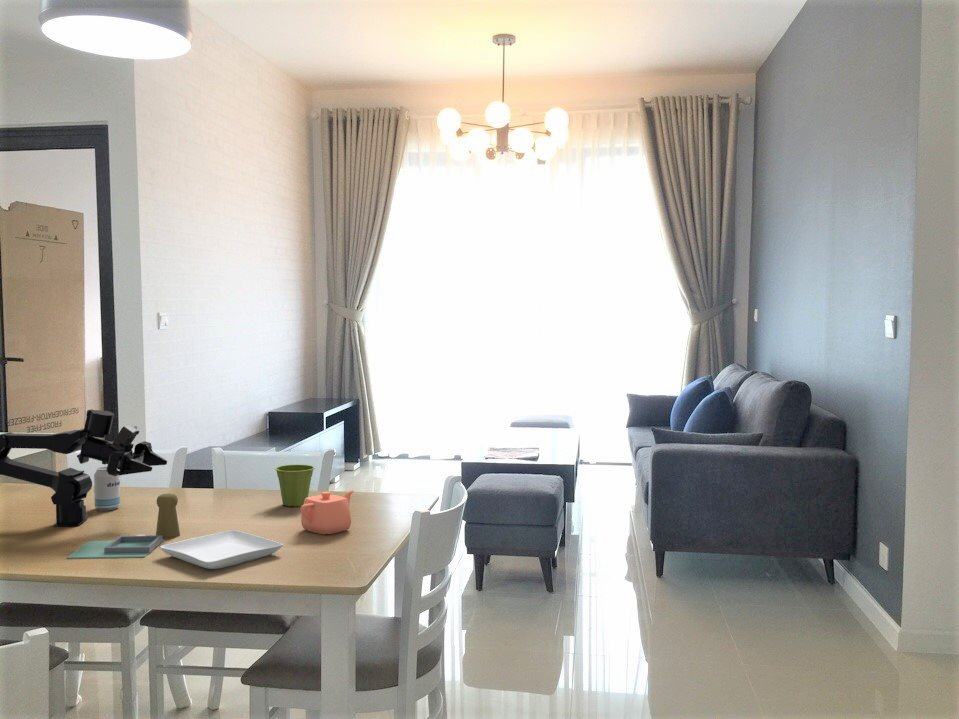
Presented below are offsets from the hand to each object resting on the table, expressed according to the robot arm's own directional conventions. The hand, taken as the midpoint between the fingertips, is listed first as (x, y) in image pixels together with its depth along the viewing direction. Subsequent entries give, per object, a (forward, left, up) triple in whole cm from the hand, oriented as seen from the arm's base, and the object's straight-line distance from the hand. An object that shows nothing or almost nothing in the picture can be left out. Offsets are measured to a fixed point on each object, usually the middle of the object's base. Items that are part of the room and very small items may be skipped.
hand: (159, 465), depth 232 cm
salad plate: (+23, -29, -17) cm, 41 cm away
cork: (+5, -10, -17) cm, 20 cm away
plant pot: (+33, +24, -17) cm, 44 cm away
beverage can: (-21, +21, -17) cm, 34 cm away
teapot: (+46, -6, -17) cm, 49 cm away
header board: (-4, -22, -16) cm, 28 cm away
